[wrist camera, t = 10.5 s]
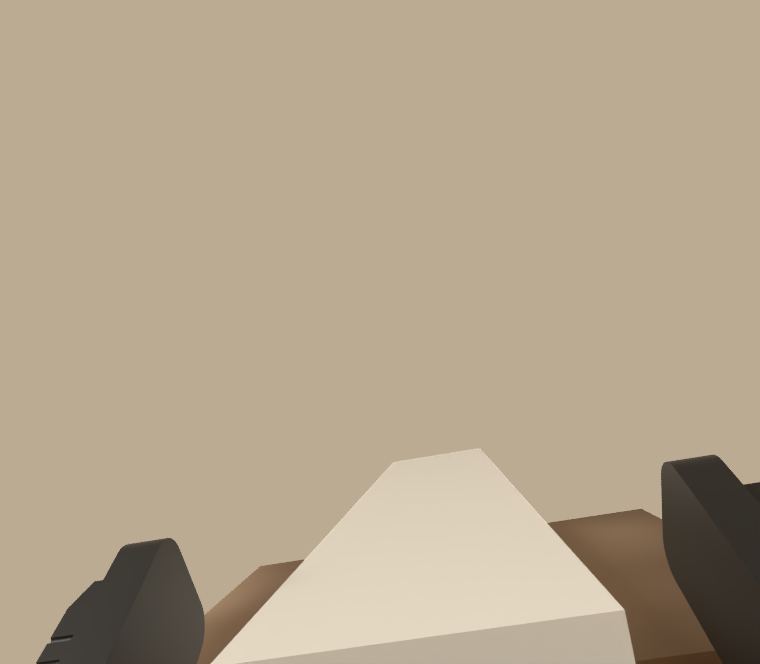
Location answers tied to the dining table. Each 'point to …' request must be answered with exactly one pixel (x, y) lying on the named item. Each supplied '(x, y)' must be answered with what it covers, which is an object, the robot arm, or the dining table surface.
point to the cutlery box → (438, 582)
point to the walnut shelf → (594, 549)
